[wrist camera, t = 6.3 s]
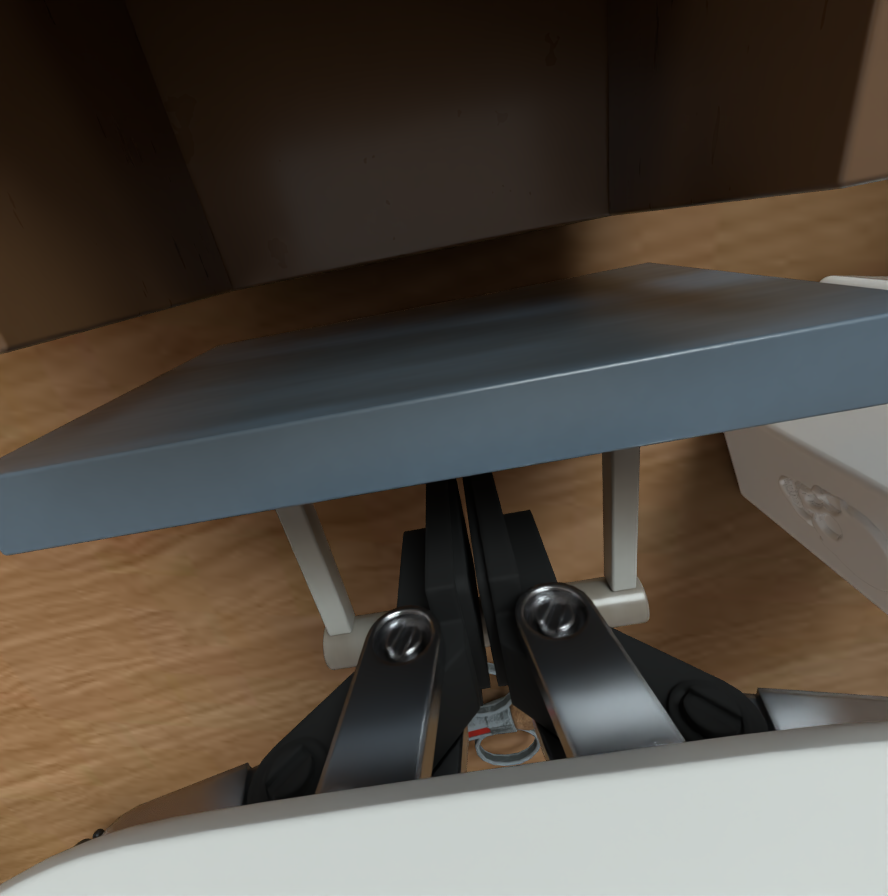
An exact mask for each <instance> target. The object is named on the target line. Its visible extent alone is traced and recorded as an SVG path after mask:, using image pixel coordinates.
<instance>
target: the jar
mask: <svg viewBox="0 0 888 896" xmlns="http://www.w3.org/2000/svg"><path fill="white" fill-rule="evenodd" d="M819 282H822V283H831V284H840V285H849V286H857V287H866V288H875V289H884V290H888V276H828V277H825V278H823V279H822V280H821V281H819ZM724 436H725V439H726V443H727V446H728V450H729V453H730V457H731V460H732V464H733V467H734V471H735V474H736V478H737V481H738V485H739V488H740V492H741V494H742V495H743V496H744V497H745V498H746V499H747V500H748V501H750V502H751V503H752V504H753V505H755V506H756V507H757V508H758V509H759V510H761V511H762V512H763V513H764V514H765V515H767V516H768V517H769V518H770V519H772V520H773V521H774V522H775V523H776V524H778V525H779V526H780V527H781V528H782V529H784V530H785V531H786V532H787V533H789V534H790V535H791V536H792V537H793V538H795V539H796V540H797V541H798V542H799V543H801V544H802V545H803V546H804V547H806V548H807V549H808V550H809V551H810V552H812V553H813V554H814V555H815V556H816V557H818V558H819V559H820V560H821V561H823V562H824V563H825V564H826V565H827V566H829V567H830V568H831V569H832V570H833V571H835V572H836V573H837V574H838V575H840V576H841V577H842V578H843V579H844V580H846V581H847V582H848V583H849V584H850V585H852V586H853V587H854V588H855V589H857V590H858V591H859V592H860V593H861V594H863V595H864V596H865V597H866V598H867V599H869V600H870V601H871V602H872V603H874V604H875V605H876V606H877V607H878V608H880V609H881V610H882V611H883V612H884V613H886V614H887V615H888V404H885V405H879V406H873V407H867V408H861V409H856V410H850V411H844V412H838V413H832V414H826V415H821V416H815V417H809V418H803V419H797V420H792V421H786V422H780V423H774V424H768V425H763V426H757V427H751V428H745V429H739V430H734V431H728V432H724Z"/></svg>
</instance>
